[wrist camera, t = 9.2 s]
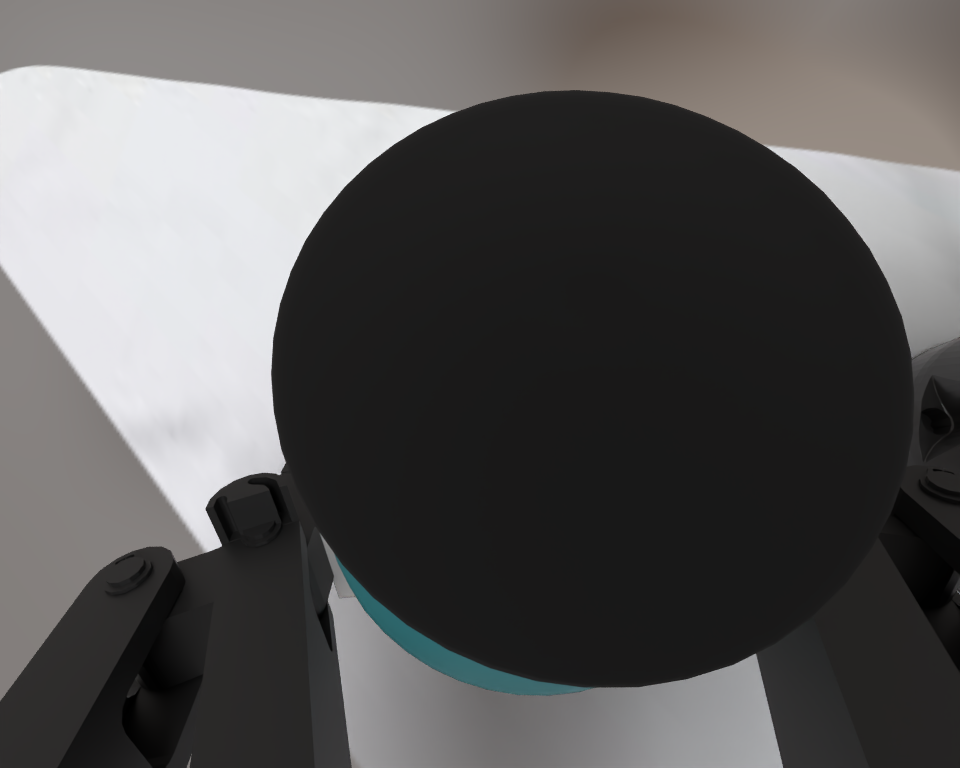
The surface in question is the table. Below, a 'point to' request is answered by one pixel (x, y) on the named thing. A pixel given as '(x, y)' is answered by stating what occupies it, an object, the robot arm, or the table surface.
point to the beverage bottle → (590, 393)
